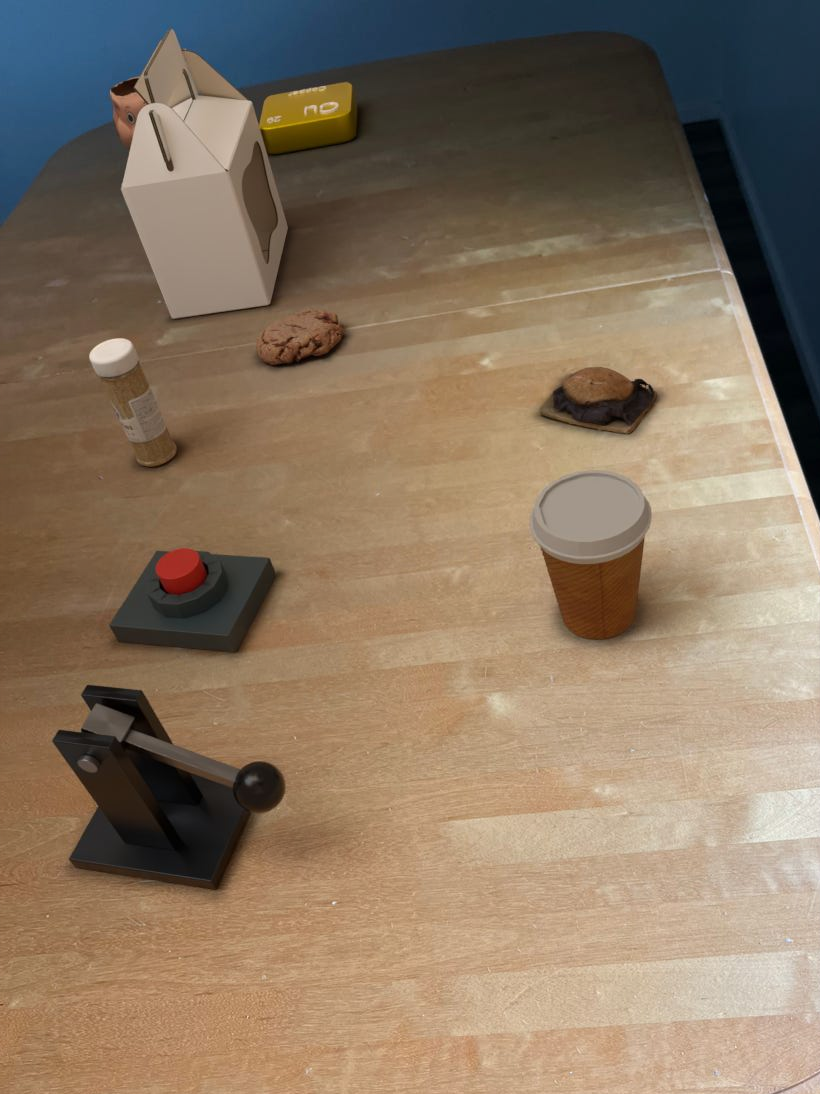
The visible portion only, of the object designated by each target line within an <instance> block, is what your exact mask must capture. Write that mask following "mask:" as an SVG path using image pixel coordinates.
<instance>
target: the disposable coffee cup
mask: <svg viewBox="0 0 820 1094" xmlns="http://www.w3.org/2000/svg"><path fill="white" fill-rule="evenodd" d="M652 513H653V512H652V507H651V505H650V502H649V500H648V499H647V497H645V495H644V492H643V491H642V489H641V487H640V486H639V485H638V484H637V483H636V482H634V481H633V480H632V479H631V478H630V477H627V476H625V475H623V474H620V473H618V472H613V471H609V470H602V469H601V470H600V469H588V470H581V471H575V472H572V473H568V474H565V475H563V476H561V477H559V478H557V479H555V480H553V481H552V482H549V483H548V485H546V486H545V487H544V488H543V489H542V490H541V491H540V492H539V494H538V495H537V497H536V499H535V502H534V505H533V508H532V510H531V513H530V516H529V524H528V525H529V530H530V532H531V536H532V538H533V539H534V540H535V542H536V543H537V545H538V546H539V547H540V551H541V553H542V556H543V560H544V563H545V567H546V569H547V573H548V576H549V579H550V583H551V586H552V589H553V593H554V596H555V599H556V603H557V605H558V609H559V612H560V616H561V619H562V623H563V624H564V627H566V628H567V629H568V631H569V632H571V633H572V634H574V635H575V636H577V637H581V638H585V639H587V640H603V639H609V638H613V637H615V636H618V635H620V634H621V633H623V632H625V631H626V630H628V629H629V628H630V626H631V625H632V624H633V622H634V620H635V618H636V615H637V611H636V610H637V605H638V595H639V589H640V588H639V587H640V581H641V571H642V563H643V556H644V547H645V540H646V539H645V538H646V534H647V532H648V530H649V529H650V527H651V523H652V518H653V517H652V516H653V514H652Z"/></svg>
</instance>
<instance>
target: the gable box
mask: <svg viewBox="0 0 820 1094" xmlns="http://www.w3.org/2000/svg"><path fill="white" fill-rule="evenodd" d="M139 76H140V77H139ZM139 76H138V77H139V79H138V81H137V83H136V84H135V86H134V88H133V89H134V90H135V91H136V92H137V93H138V94H139V96H140V97H141V98H142V99H143V100H144V101H145V103H146V104H147V105H146V106H145V107H143V108H142V109H141V110H140V112H139V114H138V117H137V121H136V125H135V130H134V134H133V139H132V143H131V148H130V150H129V152H128V157H127V161H126V167H125V170H124V175H123V180H122V183H121V185H120V191H121V193H122V197H123V199H124V202H125V204H126V206H127V208H128V211H129V214H130V216H131V219H132V221H133V224H134V226H135V229H136V232H137V234H138V236H139V240H140V242H141V244H142V247H143V249H144V252H145V254H146V257H147V259H148V262H149V264H150V267H151V269H152V272H153V275H154V277H155V280H156V282H157V284H158V288H159V289H160V292H161V295H162V297H163V299H164V303H165V306H166V308H167V310H168V313H169V315H170V318H171V319H173V320H178V319H183V318H190V317H198V316H204V315H210V314H211V315H212V314H218V313H224V312H233V311H238V310H239V311H240V310H246V309H251V308H252V309H253V308H259V307H266V306H270V305H271V303H272V302H271V301H272V298H273V294H274V290H275V286H276V281H277V275H278V272H279V268H280V263H281V260H282V254H283V250H284V247H285V243H286V237H287V233H288V229H289V226H288V224H287V220H286V216H285V213H284V209H283V205H282V202H281V198H280V195H279V191H278V188H277V184H276V181H275V177H274V173H273V171H272V166H271V162H270V160H269V156H268V153H267V152H266V149H265V146H264V142H263V138H262V135H261V131H260V128H259V124H260V123H259V121H258V118H257V114H256V110H255V107H254V103H253V102H252V101H251V100H250V99H249V98H248V97H246V96H245V94H243V93H242V92H241V91H240V90H239V89H238V88H236V87H235V86H234V85H233V84H232V83H231V82H230V81H229V80H228V79H226V78H225V76H223V75H222V74H221V73H220V72H219V71H218V70H217V69H215V68H214V66H212V64H210V63H209V62H208V61H207V60H205V59H204V57H202V56H201V55H200V54H199V53H198V52H195V51H192V50H188V49H187V48H186V47H183V48H181V45H180V43H179V40H178V36H177V35H176V33H175V30H174V29H172V28H171V29H167V31H166V33H165V34H164V36H163V38H162V39H160V40H159V42H158V44H157V46H156V47H155V49H154V51H153V52H152V55H151V56H150V57H149V59H148V62H147V63H146V65H145V66H144V68H143V70H142V72H141V74H140V75H139ZM199 94H200V95H199Z"/></svg>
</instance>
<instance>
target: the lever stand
mask: <svg viewBox="0 0 820 1094" xmlns="http://www.w3.org/2000/svg"><path fill="white" fill-rule="evenodd" d="M80 696H81V698H82V699H83V701H84V703H85V704H86V706H87V708H88V709H89V710H90V712H91V711H92V709H93V707H94V706H95V704H96V703H97V704H100V705H103V706H106V707H108V708H111V709H114V710H116V711H119V712H122V713H125V714H127V715H130V716H133V717H135V721H134V730H135V731H138V732H140V733H143V734H146V735H149V736H151V737H154V738H157V739H159V740H162V741H165V742H168V743H170V744H173V745H174V743H173V741H172V739H171V738H170V736H169V734H168V733H167V731H166V729H165V727H164V726H163V724H162V722H161V720H160V719H159V717H158V716H157V714H156V712H155V710H154V708H153V706H152V705H151V703H150V701H149V700H148V698H147V696H146V695H145V692H144V691H143V690H142V689H134V688H132V689H131V688H124V687H113V686H105V685H95V684H86V685H85V687H84V688H83V690H82V692H81V694H80ZM51 743H52V744H53V745H54V746H55V748H56V749H57V750H58V752H59V753H60V755H61V756H62V758H63V760H65V761H66V764H67V765H69V767H70V768H71V770H72V771H73V773H74V774H75V775H76V777H77V778H78V780H79V781H80V783H81V784H82V786H83V787H84V788H85V790H86V791H87V792H88V794H89V796H91V798H92V799H93V801H94V803H95V804H96V805H97V808H96V809H95V812H94V813H93V815H92V817H91V819H90V820H89V822H88V824H87V826H86V827H85V829H84V831H83V833H82V834H81V837H80V838H79V840H78V842H77V843H76V845H75V847H74V849H73V851H72V853H71V854H70V856H69V858H68V860H69V862H70V863H71V865H72V866H73V867H74V868H77V869H83V870H89V871H95V872H96V871H97V872H103V873H108V874H116V875H122V876H128V877H134V878H140V879H146V880H154V881H159V882H166V883H171V884H177V885H178V884H179V885H185V886H192V887H197V888H198V887H199V888H205V889H210V890H217V889H218V887H219V885H220V883H221V880H222V878H223V876H224V873H225V871H226V869H227V867H228V865H229V863H230V860H231V858H232V855H233V853H234V851H235V849H236V846H237V844H238V842H239V840H240V838H241V835H242V833H243V832H244V829H245V828H246V827H245V826H246V825H247V822H248V820H249V818H250V815H251V813H252V812H249V811H246V810H245V809H243V808H242V807H241V806H240V805H239V804H238V803H237V801H236V799H235V797H234V794H233V788H231V787H228V786H225V785H223V784H220V783H217V782H214V781H212V780H209V779H206V778H204V777H201V776H198V775H195V774H193V773H190V772H187V771H185V770H182V769H179V768H176V767H174V766H171V765H168V764H165V763H163V762H160V761H157V760H155V759H152V758H149V757H146V756H144V755H141V754H138V753H136V752H133V751H130V750H127V749H126V750H124V749H123V747H122V746H121V744H120V743H119V741H118V739H117V738H116V737H115V736H109V735H100V734H92V733H83V732H81V731H74V730H67V729H66V730H65V729H58V730H57V732H56V733H55V736H53V738H52V740H51Z"/></svg>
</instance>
